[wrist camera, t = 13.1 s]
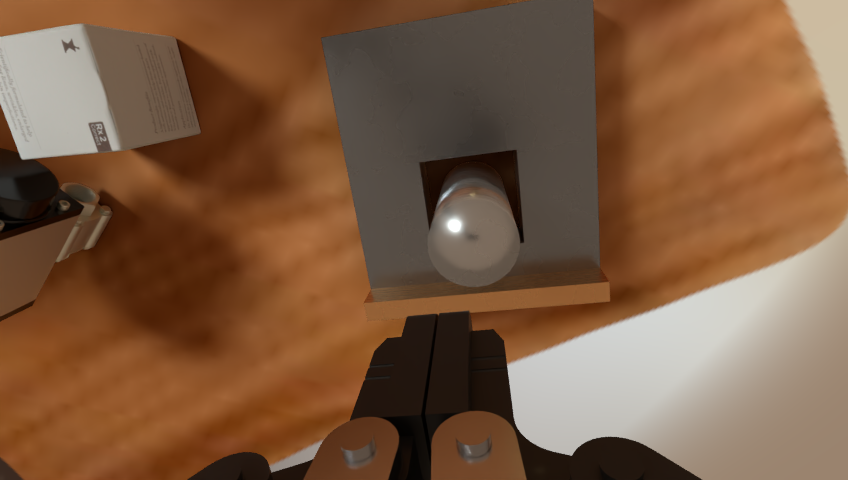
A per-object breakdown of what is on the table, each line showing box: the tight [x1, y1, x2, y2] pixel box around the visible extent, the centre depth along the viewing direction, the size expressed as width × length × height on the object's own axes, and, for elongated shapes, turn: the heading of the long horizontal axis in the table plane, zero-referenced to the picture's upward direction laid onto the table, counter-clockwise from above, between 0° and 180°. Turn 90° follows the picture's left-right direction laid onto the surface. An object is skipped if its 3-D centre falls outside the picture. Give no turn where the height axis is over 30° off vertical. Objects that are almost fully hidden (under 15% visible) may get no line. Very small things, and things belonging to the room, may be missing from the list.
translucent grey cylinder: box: [427, 161, 520, 287], centre depth 24 cm, size 4×4×10 cm
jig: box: [321, 0, 610, 321], centre depth 26 cm, size 16×14×5 cm
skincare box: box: [0, 24, 201, 160], centre depth 26 cm, size 6×6×7 cm
